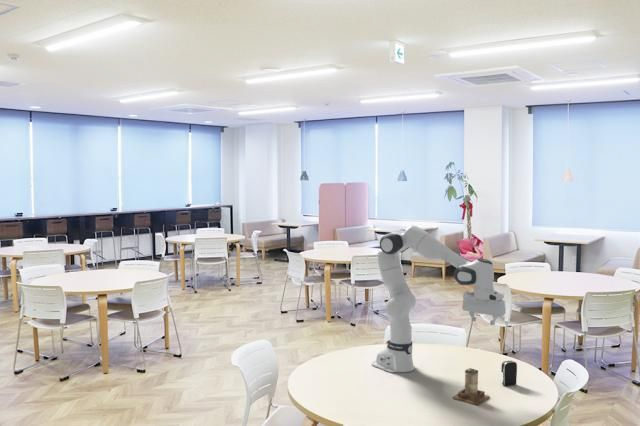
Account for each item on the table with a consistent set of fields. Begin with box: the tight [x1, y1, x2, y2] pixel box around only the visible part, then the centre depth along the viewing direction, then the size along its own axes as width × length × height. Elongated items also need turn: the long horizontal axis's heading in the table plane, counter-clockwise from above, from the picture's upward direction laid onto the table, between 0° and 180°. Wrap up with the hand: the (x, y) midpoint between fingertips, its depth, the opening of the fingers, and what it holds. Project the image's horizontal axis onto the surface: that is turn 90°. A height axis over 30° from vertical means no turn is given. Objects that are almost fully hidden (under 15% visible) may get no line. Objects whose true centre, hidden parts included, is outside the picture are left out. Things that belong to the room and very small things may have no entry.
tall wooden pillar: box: [464, 367, 479, 396], centre depth 259 cm, size 4×4×12 cm
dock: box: [452, 388, 491, 407], centre depth 259 cm, size 12×12×3 cm
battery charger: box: [500, 360, 518, 387], centre depth 275 cm, size 7×4×11 cm, turn 110°
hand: (483, 322), depth 270 cm, fingers open, 8 cm apart
